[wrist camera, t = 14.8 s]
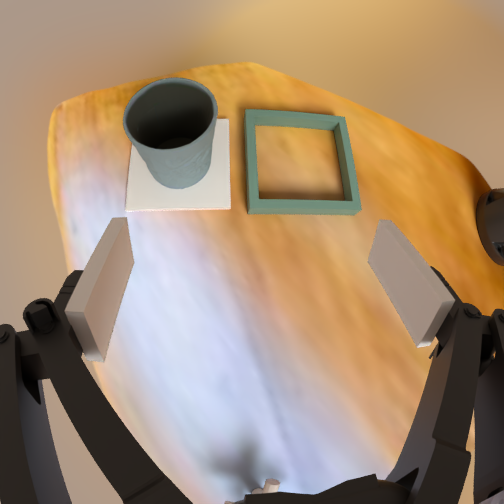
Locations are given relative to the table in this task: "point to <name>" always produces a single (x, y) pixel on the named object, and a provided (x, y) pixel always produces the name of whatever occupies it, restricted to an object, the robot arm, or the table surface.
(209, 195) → the ceramic tile
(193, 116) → the grey-green cup
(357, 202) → the square holder
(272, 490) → the pipe connector
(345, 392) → the table surface
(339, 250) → the table surface
